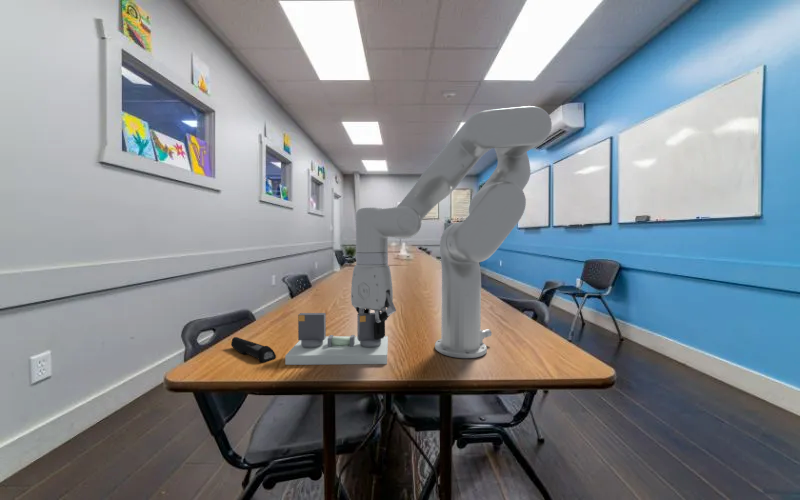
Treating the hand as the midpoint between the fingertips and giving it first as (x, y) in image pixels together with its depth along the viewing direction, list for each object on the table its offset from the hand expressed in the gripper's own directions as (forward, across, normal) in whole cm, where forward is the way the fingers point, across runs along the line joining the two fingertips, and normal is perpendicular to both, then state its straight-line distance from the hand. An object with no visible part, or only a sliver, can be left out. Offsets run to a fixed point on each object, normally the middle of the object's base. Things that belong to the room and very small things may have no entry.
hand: (372, 335), depth 71 cm
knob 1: (+2, -11, -10) cm, 15 cm away
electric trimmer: (+4, -22, -19) cm, 29 cm away
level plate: (+4, -6, -5) cm, 9 cm away
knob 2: (+2, 0, 0) cm, 2 cm away
